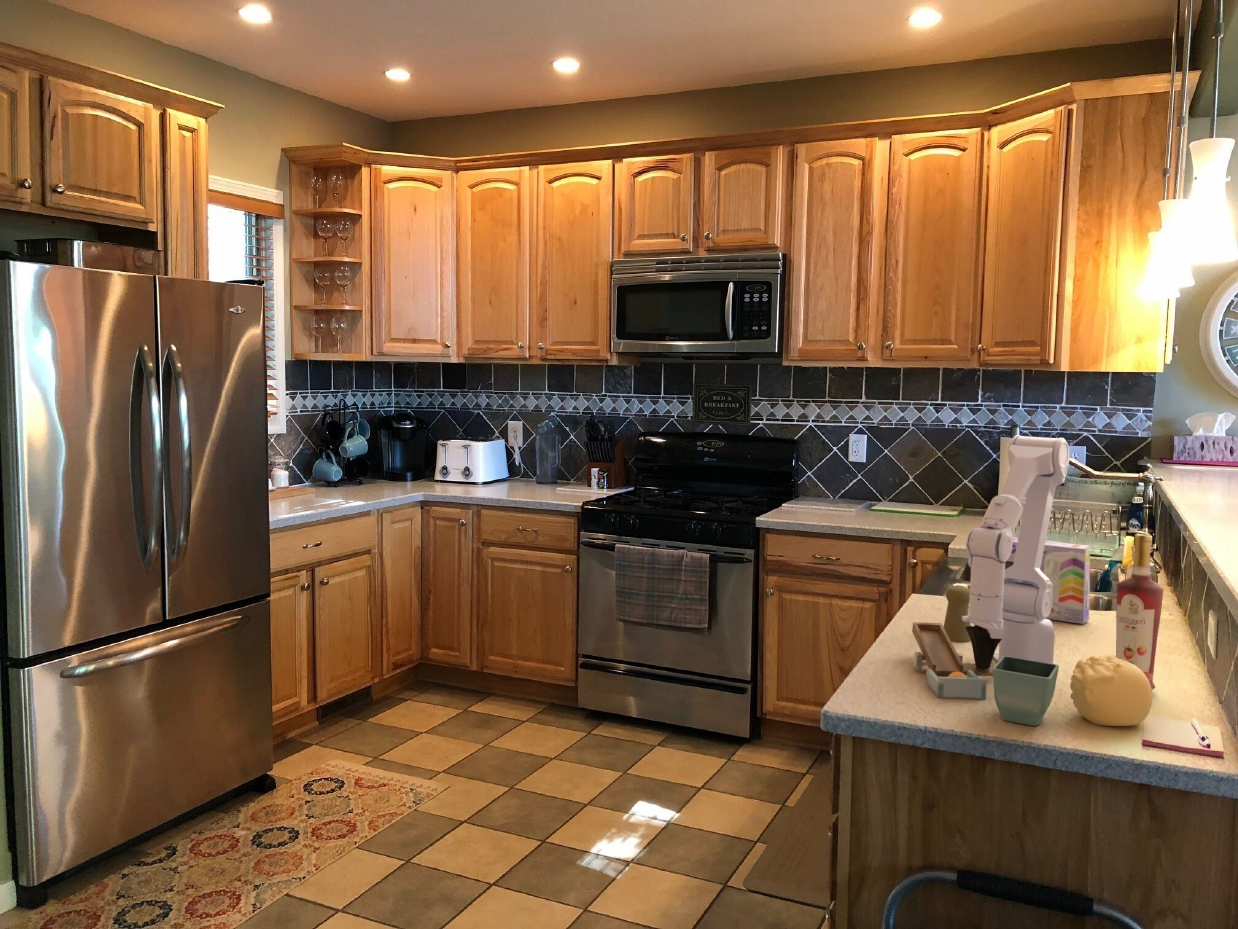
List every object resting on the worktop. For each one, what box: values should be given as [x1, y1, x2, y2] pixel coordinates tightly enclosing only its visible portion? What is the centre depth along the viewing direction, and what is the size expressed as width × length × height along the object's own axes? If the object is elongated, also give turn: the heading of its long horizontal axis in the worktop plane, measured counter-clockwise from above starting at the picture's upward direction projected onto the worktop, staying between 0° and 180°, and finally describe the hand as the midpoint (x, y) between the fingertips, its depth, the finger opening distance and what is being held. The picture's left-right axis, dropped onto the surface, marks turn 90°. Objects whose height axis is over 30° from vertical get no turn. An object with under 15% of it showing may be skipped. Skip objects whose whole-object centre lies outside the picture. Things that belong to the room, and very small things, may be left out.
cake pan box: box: [1005, 536, 1091, 625], centre depth 229 cm, size 19×5×18 cm, turn 49°
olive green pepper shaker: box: [943, 585, 972, 643], centre depth 209 cm, size 6×6×11 cm
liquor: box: [1115, 533, 1164, 691], centre depth 176 cm, size 7×7×28 cm
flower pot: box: [992, 656, 1060, 727], centre depth 161 cm, size 9×9×9 cm
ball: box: [947, 672, 967, 678], centre depth 174 cm, size 4×4×4 cm
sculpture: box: [1069, 653, 1153, 727], centre depth 161 cm, size 11×12×11 cm
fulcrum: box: [913, 651, 964, 673], centre depth 187 cm, size 8×2×3 cm, turn 87°
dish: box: [925, 669, 988, 700], centre depth 175 cm, size 8×9×4 cm
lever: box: [912, 621, 993, 677], centre depth 188 cm, size 11×16×3 cm
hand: (982, 667), depth 181 cm, fingers closed
